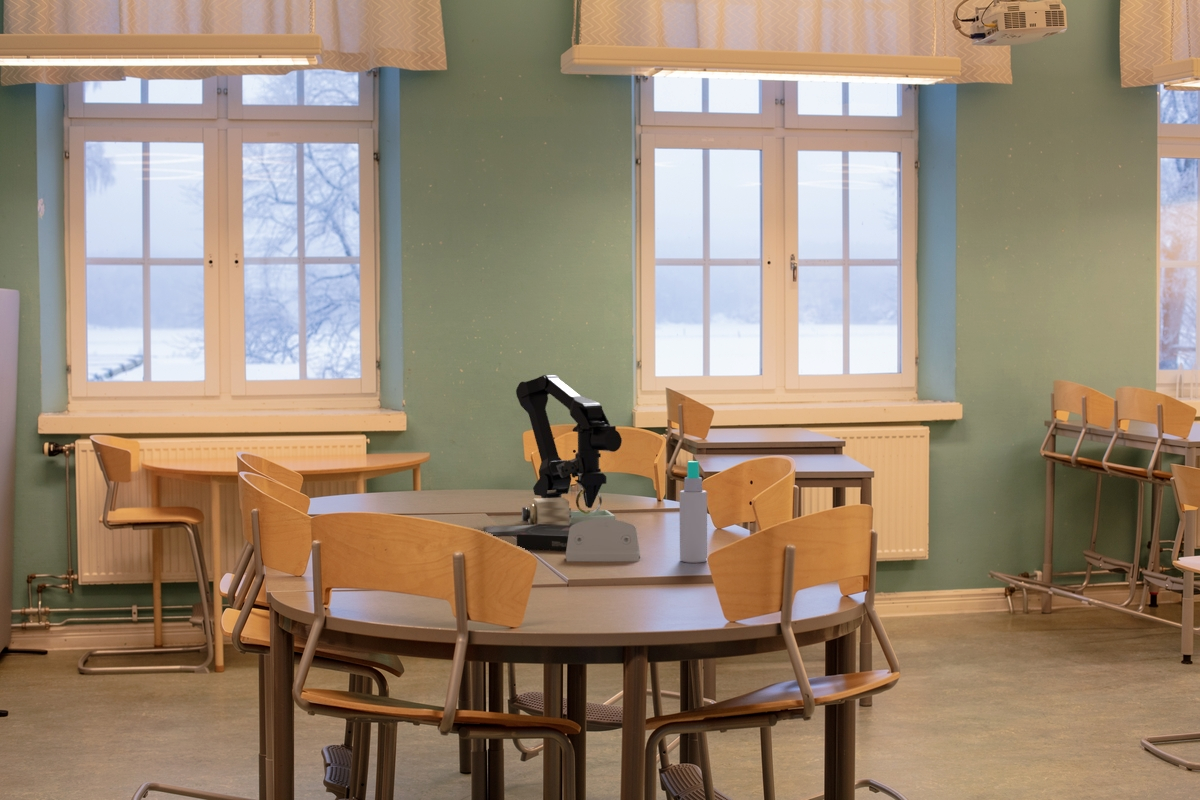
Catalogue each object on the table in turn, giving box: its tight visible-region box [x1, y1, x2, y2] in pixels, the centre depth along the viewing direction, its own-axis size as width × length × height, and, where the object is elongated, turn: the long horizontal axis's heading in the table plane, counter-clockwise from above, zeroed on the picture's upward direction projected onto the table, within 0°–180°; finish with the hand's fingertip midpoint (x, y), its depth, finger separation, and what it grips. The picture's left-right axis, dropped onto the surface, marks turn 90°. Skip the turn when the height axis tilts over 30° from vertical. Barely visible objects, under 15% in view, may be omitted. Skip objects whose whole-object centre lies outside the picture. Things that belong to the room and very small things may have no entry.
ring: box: [575, 487, 603, 515], centre depth 317 cm, size 7×3×8 cm, turn 92°
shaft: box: [521, 503, 572, 525], centre depth 304 cm, size 12×5×5 cm, turn 101°
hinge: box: [565, 519, 641, 562], centre depth 265 cm, size 17×5×10 cm, turn 88°
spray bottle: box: [679, 460, 708, 564], centre depth 260 cm, size 6×6×22 cm
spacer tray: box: [569, 509, 616, 524], centre depth 317 cm, size 11×12×2 cm
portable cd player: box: [516, 524, 572, 552], centre depth 283 cm, size 16×17×4 cm
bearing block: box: [483, 497, 576, 537], centre depth 303 cm, size 26×9×8 cm, turn 101°
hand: (588, 507), depth 317 cm, fingers closed on ring, 2 cm apart
